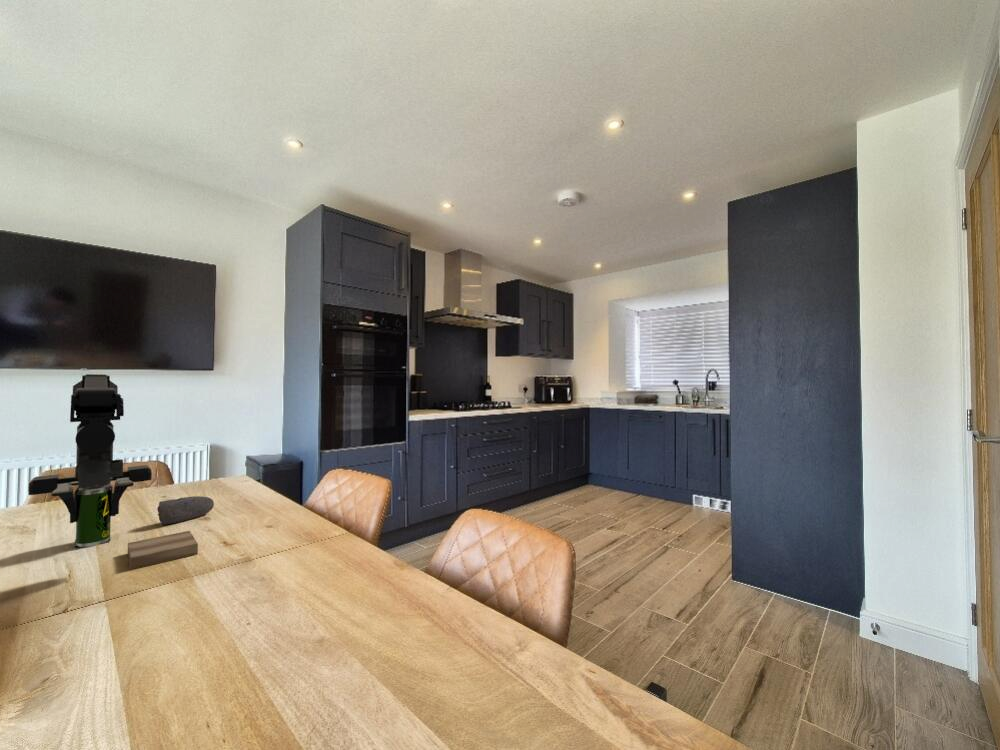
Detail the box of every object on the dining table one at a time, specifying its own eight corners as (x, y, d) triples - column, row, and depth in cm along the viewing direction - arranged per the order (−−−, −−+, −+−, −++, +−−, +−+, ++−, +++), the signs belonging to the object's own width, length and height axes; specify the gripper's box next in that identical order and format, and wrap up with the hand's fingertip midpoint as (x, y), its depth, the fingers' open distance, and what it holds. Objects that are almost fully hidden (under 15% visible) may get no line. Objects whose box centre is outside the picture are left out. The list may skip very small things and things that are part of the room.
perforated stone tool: (210, 511, 133) (210, 490, 133) (217, 514, 130) (218, 492, 130) (151, 525, 120) (151, 501, 120) (158, 529, 117) (159, 504, 117)
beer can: (72, 549, 86) (73, 491, 87) (79, 541, 91) (80, 486, 91) (107, 543, 89) (108, 487, 90) (112, 536, 94) (113, 482, 94)
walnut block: (127, 553, 100) (127, 543, 100) (189, 540, 108) (189, 530, 108) (131, 569, 91) (131, 558, 91) (197, 553, 100) (197, 543, 100)
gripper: (26, 456, 78) (24, 540, 78) (154, 446, 91) (153, 517, 91) (32, 449, 86) (30, 525, 86) (149, 441, 99) (148, 506, 99)
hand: (93, 518), depth 90 cm, fingers closed on beer can, 5 cm apart
